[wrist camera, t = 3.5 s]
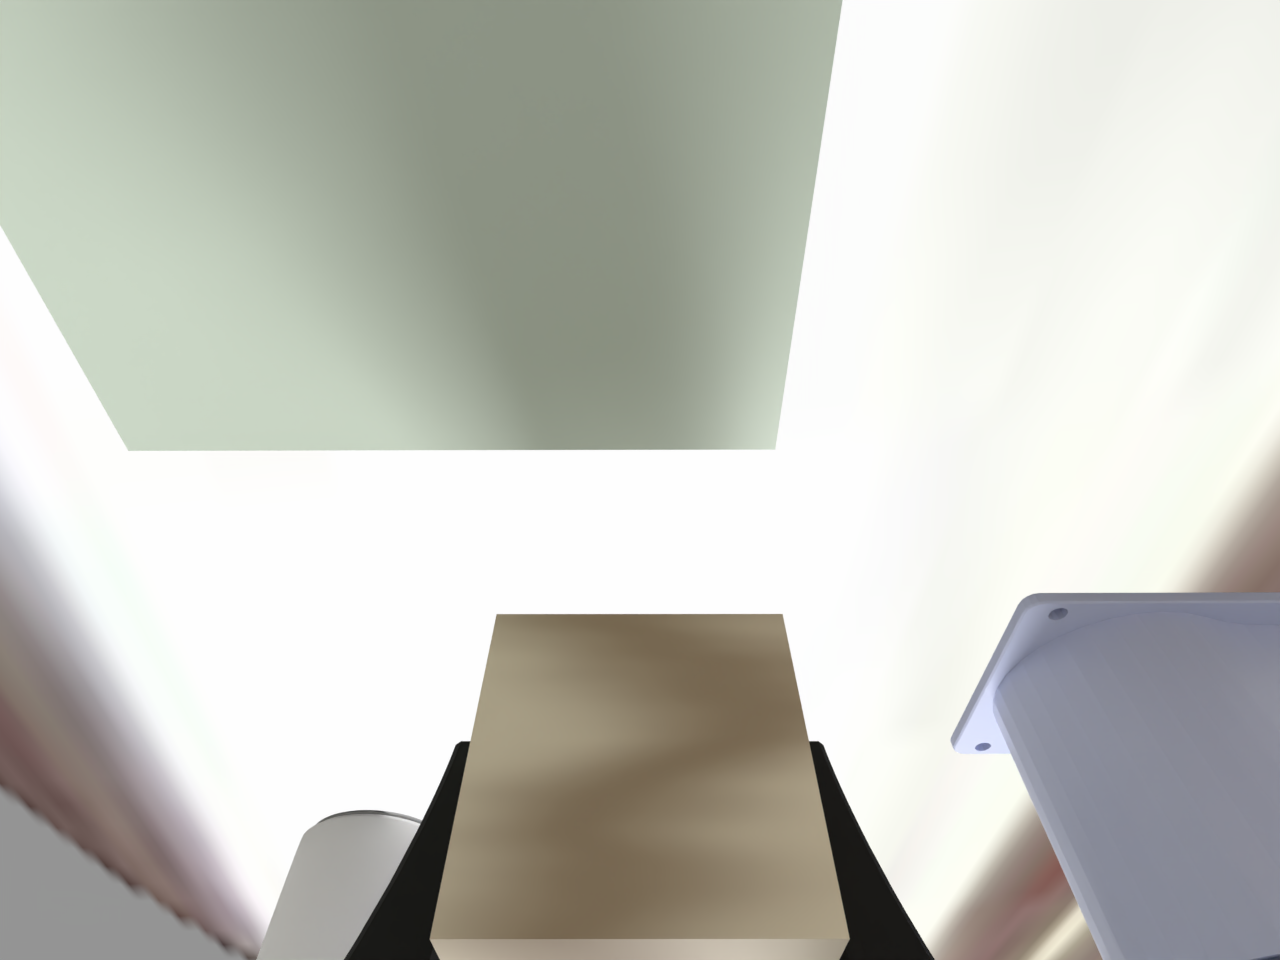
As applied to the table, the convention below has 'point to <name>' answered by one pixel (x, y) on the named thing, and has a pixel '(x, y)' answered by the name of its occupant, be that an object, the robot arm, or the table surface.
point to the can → (336, 884)
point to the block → (639, 798)
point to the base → (419, 215)
